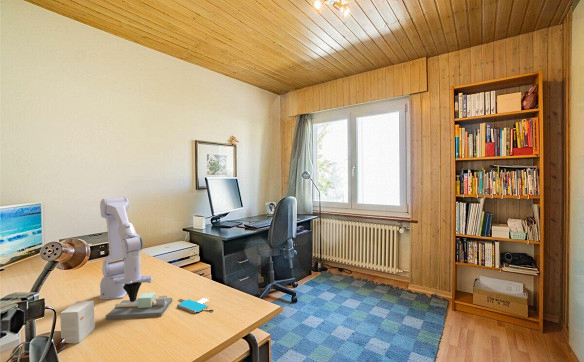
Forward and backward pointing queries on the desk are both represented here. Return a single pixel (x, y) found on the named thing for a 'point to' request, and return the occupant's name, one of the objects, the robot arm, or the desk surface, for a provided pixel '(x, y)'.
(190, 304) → the blue flat gadget
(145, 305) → the sleeve
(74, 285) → the desk surface
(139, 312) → the board
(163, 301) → the block
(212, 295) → the desk surface
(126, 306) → the wooden dowel
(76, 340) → the small box
